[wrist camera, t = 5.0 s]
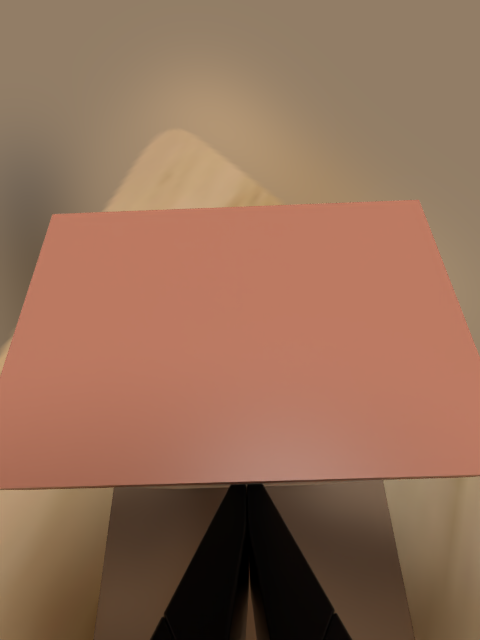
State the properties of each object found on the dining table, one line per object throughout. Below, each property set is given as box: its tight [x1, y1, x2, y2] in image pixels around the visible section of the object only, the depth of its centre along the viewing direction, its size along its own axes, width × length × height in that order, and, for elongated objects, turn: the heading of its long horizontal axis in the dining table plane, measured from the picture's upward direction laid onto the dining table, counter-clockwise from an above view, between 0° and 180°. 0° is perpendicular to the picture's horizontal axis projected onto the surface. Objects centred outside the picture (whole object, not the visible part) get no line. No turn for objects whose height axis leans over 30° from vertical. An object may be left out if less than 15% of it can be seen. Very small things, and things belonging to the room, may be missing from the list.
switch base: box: [93, 480, 415, 640], centre depth 12 cm, size 19×12×7 cm, turn 2°
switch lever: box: [0, 200, 480, 490], centre depth 10 cm, size 4×6×12 cm
